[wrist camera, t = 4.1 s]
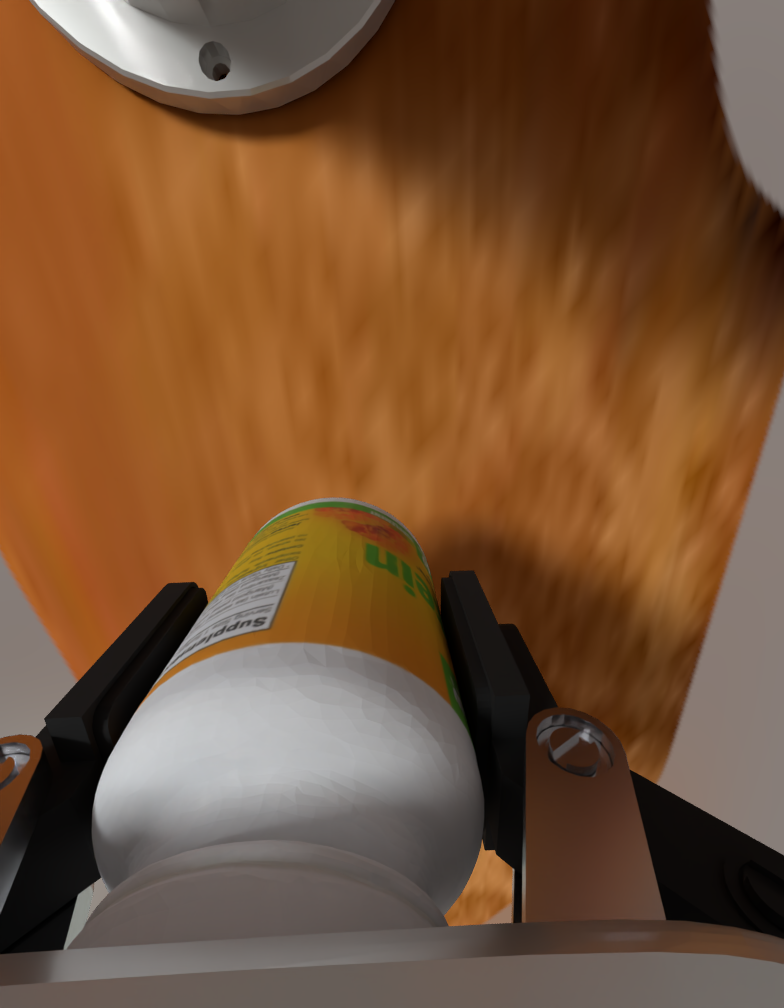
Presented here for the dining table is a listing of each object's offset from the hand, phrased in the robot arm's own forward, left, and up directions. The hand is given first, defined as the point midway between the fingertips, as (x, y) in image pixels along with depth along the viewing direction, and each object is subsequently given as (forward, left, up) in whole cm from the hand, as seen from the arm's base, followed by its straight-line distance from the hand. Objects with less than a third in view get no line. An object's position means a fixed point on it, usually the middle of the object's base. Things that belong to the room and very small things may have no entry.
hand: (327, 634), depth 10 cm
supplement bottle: (0, 0, -3) cm, 3 cm away
